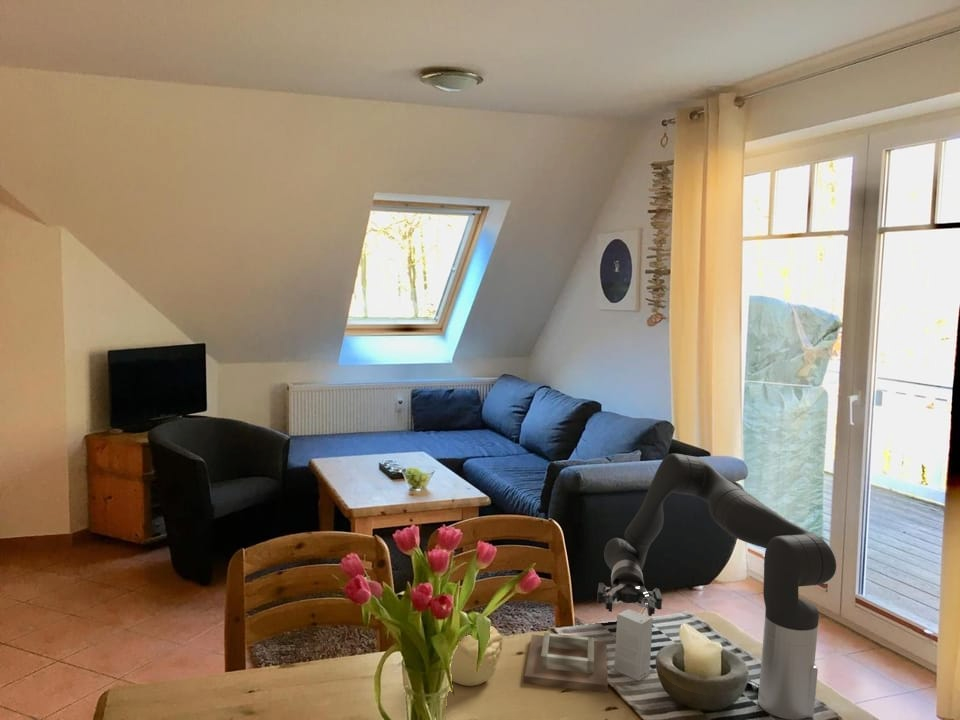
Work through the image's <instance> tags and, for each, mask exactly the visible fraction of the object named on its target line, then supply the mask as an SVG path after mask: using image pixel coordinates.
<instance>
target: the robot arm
mask: <svg viewBox="0 0 960 720" xmlns="http://www.w3.org/2000/svg"><path fill="white" fill-rule="evenodd" d="M671 493H674V494H678V495H679V494H680V495H686V496H693V497H695V498H699V499H701V500H703V501H704V502H706V503H707V504H708V510H709V514H710V517H711V519H712V520H713V521H714V522H715V523H716V525H718V526H719V527H720V528H721V529H722V530H724V531H725V532H727V534H729V535H730V536H731V537H734V538H736V539H738V540H740V541H743V542H745V543H748V544H750V545H754V546H756V547H761V548H762V549H763V548H764V549H765V550H764V551H765V552H764V559H763V561H764V563H763V589H762V590H763V591H762V592H763V602H764V605H765V606H764V607H765V610H764V611H765V614H764V625H763V626H764V627H763V636H762V646H761V647H762V648H761V649H762V650H761V658H760V659H761V662H760V672H759V685H758V696H757V698H758V699H757V701H758V704H759V707H760V708H761V709H763V710H764V711H765V712H766V713H769V714H770V715H772V716H774V717H777V718H781V719H786V720H804V719H806V718H810V719H811V718H812V719H813V718H814V716H815V714H814V713H815V706H816V705H815V703H816V693H817V684H818V683H817V682H818V673H819V672H818V666H817V665H816V663H815V662H816V652H817V651H816V650H817V643H818V642H817V641H818V640H817V639H818V631H819V630H818V629H819V620H820V619H819V617H820V615H819V614H820V612H819V610H818V608H817V607H816V605H814V604H813V603H811V602H809V601H808V600H806V599H803V598H800V597H799V587H808V586H809V587H810V586H817V585H822V584H825V583H828V582H829V581H830V580H832V578H834V576H835V575H836V570H837V561H836V557H835V554H834V552H833V550H832V548H831V547H830V546H829V544H828V543H827V542H826V541H825V540H824V539H823V538H822V537H820V536H819V535H817V534H815V533H813V532H812V531H809V530H807V529H805V528H803V527H801V526H799V525H797V524H796V523H793V522H792V521H789V520H788V519H786V518H785V517H783V516H782V515H781V514H779V513H778V512H776V511H775V510H773V509H772V508H770V507H768V506H767V505H765V504H764V503H763V502H761V501H760V500H759V499H757V498H756V497H754V496H753V495H752V494H750V493H748V492H747V491H745V490H744V489H742V488H741V487H739V486H738V485H736V484H735V483H733V482H732V481H730V480H728V479H727V478H725V477H724V476H723V475H722V474H720V473H719V472H718V471H717V469H716V468H714V467H713V466H712V465H711V464H710V463H709V462H708V461H706V460H705V459H703V458H700V457H698V456H695V455H694V456H692V455H688V454H682V453H669V454H668V455H666V456H665V457H664V458H663V459H662V460H661V462H660V464H659V466H658V467H657V469H656V472H655V474H654V476H653V479H652V480H651V483H650V485H649V488H648V490H647V492H646V495H645V498H644V500H643V502H642V503H641V506H640V508H639V510H638V512H637V513H636V514H635V516H634V518H633V519H632V520H631V521H630V523H629V525H628V526H627V527H626V529H625V531H624V538H625V540H624V539H623V538H619V537H614V538H611V539H610V540H609V541H608V542H607V543H606V545H605V547H604V551H603V557H604V562H605V563H606V566H607V567H608V568H609V570H610V571H611V575H610V578H611V579H610V583H611V585H610V586H606V585H605V583H603V582H599V583H598V586H597V587H598V589H597V599H596V603H597V604H602V603H604V604H605V605H604V607H605V609H606V610H608V612H609V613H612V612H613V605H618V604H620V603H625V604H636V605H637V606H639V607H640V608H647V616H649V617H652V616H653V615H654V614H655V612H656V609H657V610H662V609H663V606H662V605H663V596H662V593H661V591H660V588H657V587H655V588H653V590H652V591H650V590H648V589H647V588H645V586H646V585H645V581H644V575H643V572H642V570H643V569H644V565H645V563H646V559H647V555H648V551H649V548H650V546H651V545H652V543H653V542H654V541H655V540H656V538H657V537H658V535H659V534H660V532H661V530H662V529H663V526H664V524H665V523H664V522H665V517H664V516H665V514H664V501H665V500H666V499H667V497H668V496H669V495H671Z"/></svg>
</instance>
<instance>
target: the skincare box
mask: <svg viewBox="0 0 960 720" xmlns="http://www.w3.org/2000/svg"><path fill="white" fill-rule="evenodd" d="M653 621H654V619H653V617H652V616H648V615H646V614H643V613H640V612H637V611H635V610H633V609H630V608H627V609H625V610H624V611H621V612H620V613H617V614H616V629H615V630H616V632H615V634H616V635H615V648H614V650H615V651H614V664H613V665H614V666H613V670H614V671H615V672H618V673H619V674H622V675H623V676H627V677H629V678H631V679H633V680H636V681H638V682H639V681H641V680H642V679H644V678H646V677H647V676H648V674H649V675H650V672H651V671H650V669H651V653H652V652H651V651H652V638H653V637H652V636H653V634H652V633H653Z"/></svg>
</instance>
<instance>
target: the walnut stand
mask: <svg viewBox="0 0 960 720" xmlns="http://www.w3.org/2000/svg"><path fill="white" fill-rule="evenodd" d="M594 639H595V638H594V637H588V636H579V635H571V634H561V633H551V632H544V633H543V635H539V634H531V637H530V644H529V649H528V655H527V662H526V668H525V673H524V684H527V685H537V686H543V687H544V686H546V687H553V688H563V689H572V690H573V689H574V690H582V691H591V692H600V693H608V690H609V689H608V688H609V687H608V686H609V683H608V681H609V680H608V658H607V657H608V655H607V653H608V652H607V642H606V641H598V640H597V641H596V640H594Z"/></svg>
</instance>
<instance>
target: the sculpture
mask: <svg viewBox="0 0 960 720" xmlns="http://www.w3.org/2000/svg"><path fill="white" fill-rule="evenodd" d="M503 640H504V639H503V636H502V634H501V633H499V631H498V630H497V629H496V627H494V626H492V625H490V640H489V643H488V646H487V649H486V652H485V655H484V658H483V660H482V663H481V665H480V668H479V671H478V673H477V674H476V673H475V671H476V662H477V654H478V646H477V641H476V640H475V639H474V638H473V637H472V636H471V635H467V636H465V637H464V638H462V640H461V641H460V643H459V644H458V647H457V649H456V651H455V653H454V655H453V658H452V663H451V674H452V680H451V681H452V682H454V683H457V684H459V685H462V686H467V687H472V686H473V687H474V685H475V686H477V685H481V684H483V683H485V682H487V681H489V680H491V678H492V677H493V676H494V674H496V668H497V664H498V662H499V660H500V659H501V658H500V657H501V652H502V650H503V646H502V645H503V642H504V641H503Z"/></svg>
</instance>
